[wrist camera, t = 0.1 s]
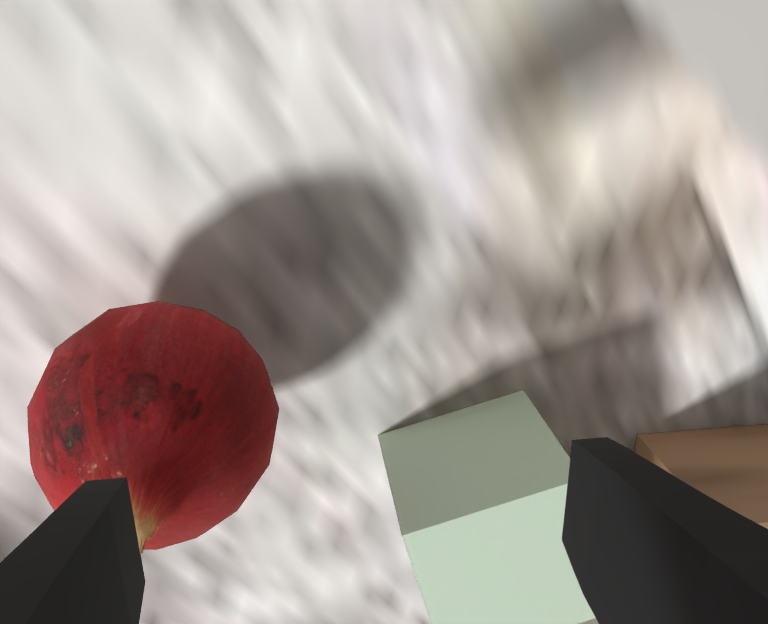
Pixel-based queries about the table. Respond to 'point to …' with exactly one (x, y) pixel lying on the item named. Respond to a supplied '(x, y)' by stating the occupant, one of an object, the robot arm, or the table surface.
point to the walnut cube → (717, 464)
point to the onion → (155, 417)
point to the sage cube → (486, 515)
